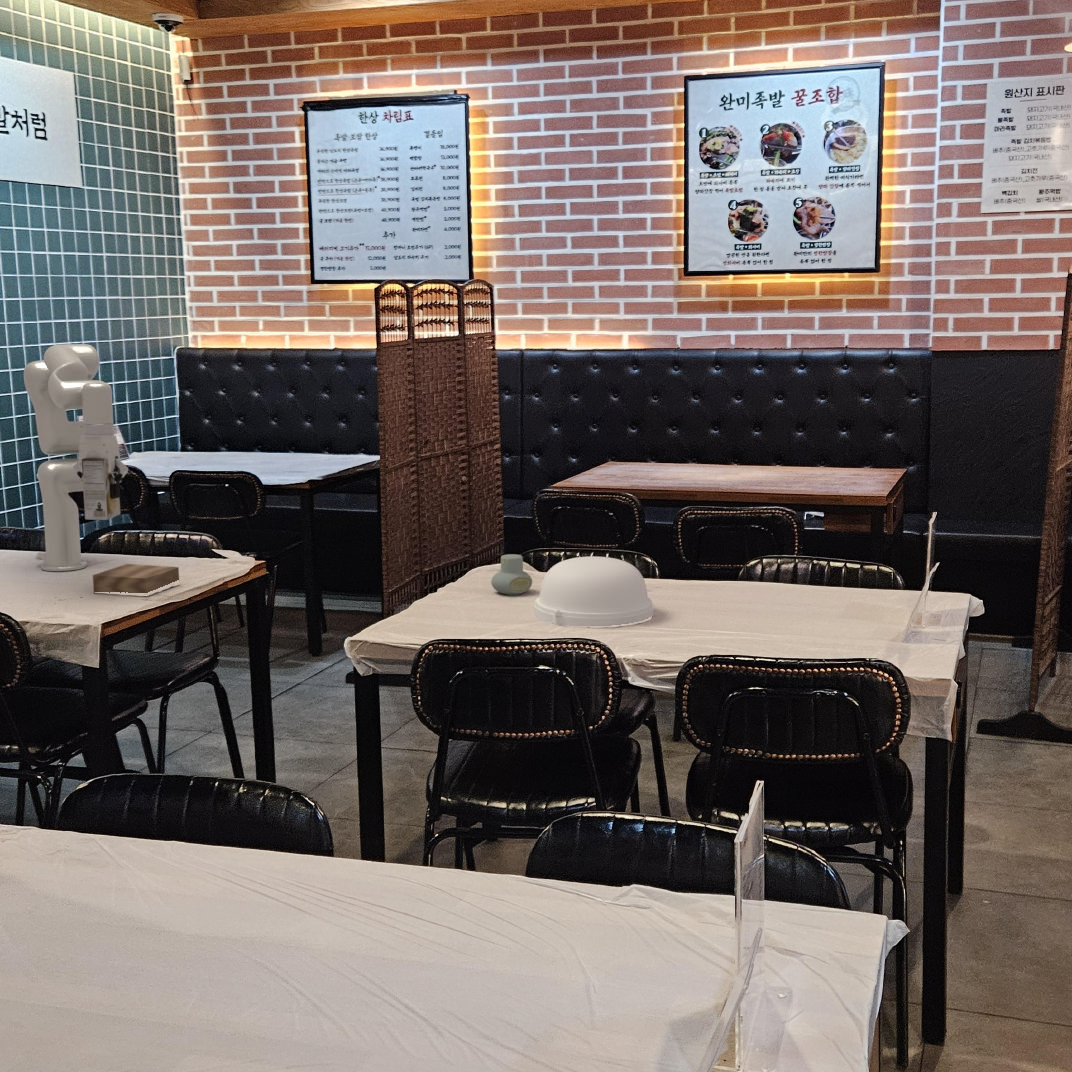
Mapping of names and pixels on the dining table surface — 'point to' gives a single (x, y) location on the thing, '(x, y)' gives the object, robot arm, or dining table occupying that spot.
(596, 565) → the dome cover
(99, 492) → the coffee box
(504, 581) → the air freshener
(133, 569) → the walnut base
